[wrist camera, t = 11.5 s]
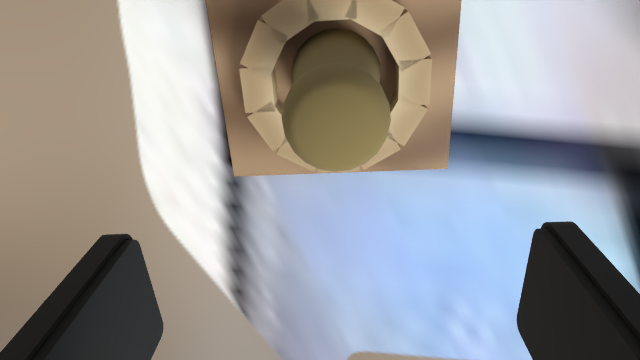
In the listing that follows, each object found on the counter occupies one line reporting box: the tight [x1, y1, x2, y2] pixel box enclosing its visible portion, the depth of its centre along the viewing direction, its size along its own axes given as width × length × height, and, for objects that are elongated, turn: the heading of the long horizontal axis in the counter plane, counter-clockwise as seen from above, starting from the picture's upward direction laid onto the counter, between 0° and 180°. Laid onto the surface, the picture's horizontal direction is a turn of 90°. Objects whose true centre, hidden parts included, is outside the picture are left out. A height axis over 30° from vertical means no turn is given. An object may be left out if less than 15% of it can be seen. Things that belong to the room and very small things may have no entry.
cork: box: [282, 28, 391, 172], centre depth 24 cm, size 6×6×11 cm
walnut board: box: [206, 0, 461, 176], centre depth 28 cm, size 20×16×1 cm
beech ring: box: [239, 0, 432, 173], centre depth 28 cm, size 12×12×2 cm
